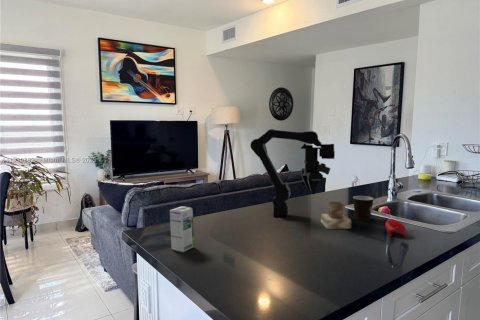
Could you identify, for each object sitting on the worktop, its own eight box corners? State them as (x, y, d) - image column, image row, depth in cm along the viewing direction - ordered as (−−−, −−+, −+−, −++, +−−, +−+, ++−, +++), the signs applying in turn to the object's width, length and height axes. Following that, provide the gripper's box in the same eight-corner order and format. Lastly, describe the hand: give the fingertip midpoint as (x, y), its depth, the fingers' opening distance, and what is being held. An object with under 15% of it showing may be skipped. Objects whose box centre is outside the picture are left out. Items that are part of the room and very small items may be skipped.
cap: (382, 228, 125) (397, 222, 122) (382, 219, 130) (396, 213, 127) (394, 243, 126) (409, 238, 123) (393, 234, 131) (408, 228, 128)
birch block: (327, 229, 136) (327, 220, 135) (320, 222, 146) (320, 213, 145) (350, 229, 136) (351, 220, 135) (343, 222, 146) (343, 213, 145)
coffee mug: (363, 223, 142) (364, 200, 141) (348, 218, 150) (349, 197, 149) (381, 219, 148) (382, 197, 147) (366, 215, 155) (367, 194, 154)
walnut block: (331, 218, 138) (331, 204, 137) (328, 215, 143) (328, 201, 142) (343, 218, 138) (343, 204, 137) (340, 215, 143) (340, 201, 142)
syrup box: (183, 252, 112) (182, 211, 110) (170, 249, 115) (169, 209, 113) (194, 247, 117) (193, 207, 115) (181, 244, 120) (180, 205, 118)
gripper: (335, 160, 140) (334, 196, 142) (323, 156, 159) (322, 188, 161) (309, 160, 140) (308, 196, 142) (300, 156, 159) (300, 188, 160)
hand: (310, 192), depth 151 cm, fingers open, 9 cm apart
